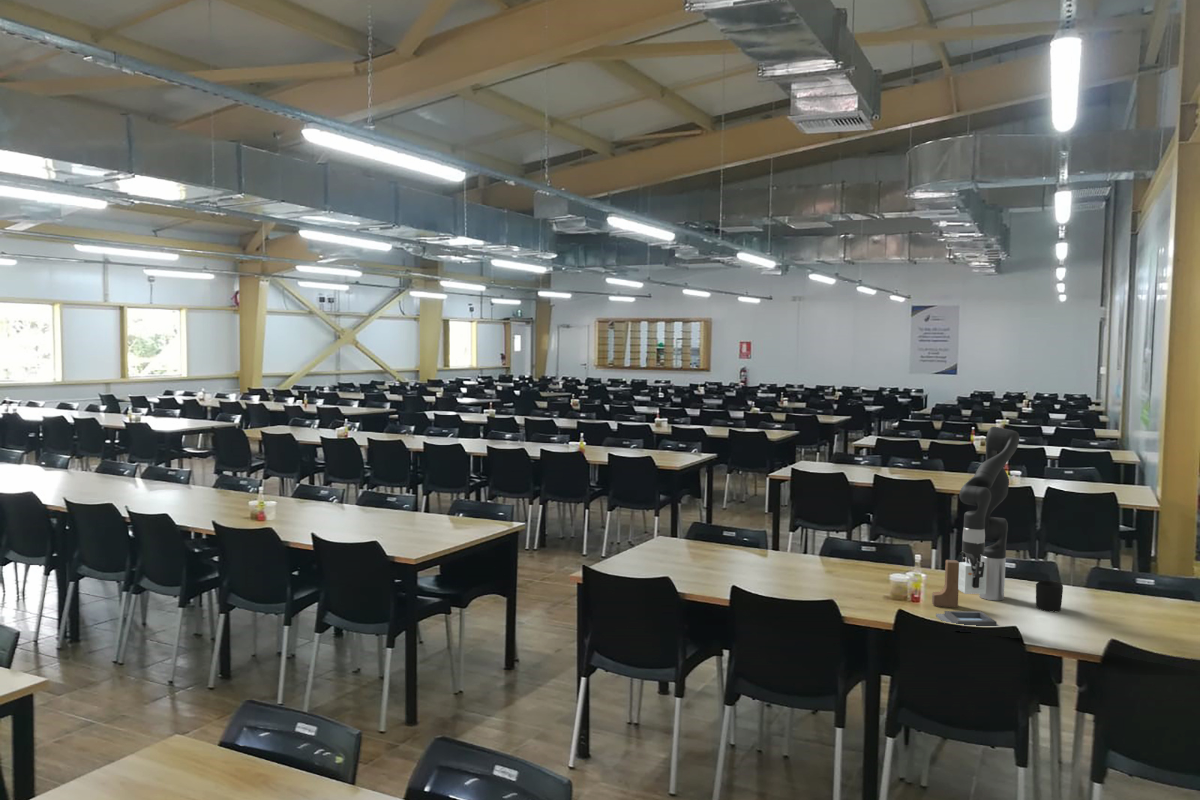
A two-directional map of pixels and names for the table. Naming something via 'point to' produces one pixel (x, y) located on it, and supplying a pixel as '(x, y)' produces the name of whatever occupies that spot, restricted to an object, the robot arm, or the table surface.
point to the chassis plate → (967, 618)
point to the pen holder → (1049, 595)
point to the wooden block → (948, 587)
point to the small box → (970, 580)
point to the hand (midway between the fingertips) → (971, 585)
